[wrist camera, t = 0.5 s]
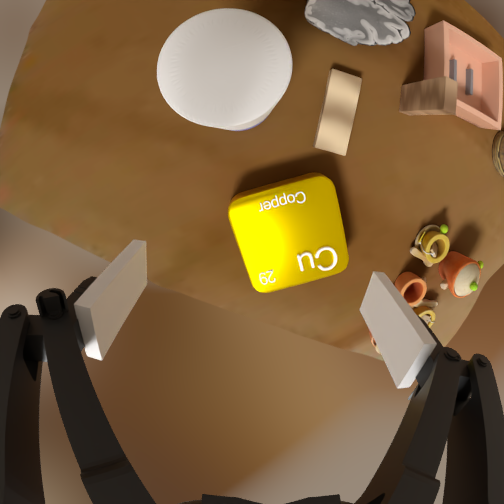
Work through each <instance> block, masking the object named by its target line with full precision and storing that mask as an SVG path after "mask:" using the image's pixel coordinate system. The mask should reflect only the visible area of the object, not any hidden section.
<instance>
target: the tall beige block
mask: <svg viewBox="0 0 504 504" xmlns="http://www.w3.org/2000/svg"><path fill="white" fill-rule="evenodd" d="M457 86H458V82H456V81H454V80H453V79H451V78H449V77H447V76H443V77H438V78H433V79H428V80H423V81H419V82H414V83H410V84H406V85H402V88H401V99H400V108H399V112H402V113H404V114H407V115H456V103H457Z"/></svg>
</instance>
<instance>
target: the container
mask: <svg viewBox="0 0 504 504" xmlns="http://www.w3.org/2000/svg"><path fill="white" fill-rule="evenodd" d="M291 74H292V55H291V51H290V48H289V45H288V43H287V41H286V39H285V37H284V36H283V34H282V33H281V32H280V30H279V29H278V28H277V27H276V26H275V25H274V24H272V23H271V22H270V21H268V20H267V19H265V18H264V17H262V16H260V15H258V14H256V13H253V12H250V11H246V10H242V9H234V8H223V9H215V10H210V11H206V12H203V13H200V14H198V15H196V16H194V17H192V18H190V19H188V20H187V21H185V22H184V23H182V24H181V25H180V26H179V27H178V28H177V29H175V30H174V32H173V33H172V34H171V35H170V36H169V38H168V39H167V40H166V42H165V44H164V46H163V48H162V50H161V52H160V55H159V59H158V64H157V79H158V84H159V87H160V90H161V93H162V95H163V97H164V98H165V100H166V101H167V103H168V104H169V105H170V106H171V107H172V108H173V109H174V110H175V111H176V112H177V113H178V114H180V115H181V116H182V117H184V118H186V119H188V120H190V121H192V122H194V123H197V124H201V125H205V126H210V127H216V128H222V129H227V130H233V131H242V130H247V129H251V128H253V127H255V126H257V125H259V124H260V123H261V122H263V121H264V120H265V119H266V118H267V116H268V115H269V114H270V112H271V111H272V110H273V108H274V107H275V105H276V104H277V103H278V101H279V100H280V99H281V97H282V96H283V94H284V93H285V91H286V89H287V87H288V84H289V82H290V78H291Z"/></svg>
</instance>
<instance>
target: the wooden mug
mask: <svg viewBox="0 0 504 504" xmlns="http://www.w3.org/2000/svg"><path fill="white" fill-rule="evenodd" d="M492 153H493V162H494V165H495V167H496V169H497V171H498V172H499V173H500V175H501V176H503V177H504V131H500V132H499V133H497V135H496V136H495V138H494V141H493V147H492Z"/></svg>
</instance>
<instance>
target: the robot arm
mask: <svg viewBox="0 0 504 504" xmlns="http://www.w3.org/2000/svg"><path fill="white" fill-rule="evenodd" d="M146 285H147V264H146V241H140V240H133V241H132V242H131V243H130V244H129V245H128V246H127V247H126V248H125V249H124V250H123V251H122V252H121V253H120V254H119V255H118V256H117V257H116V258H115V259H114V260H113V261H112V263H111V264H110V265H109V266H108V267H107V268H106V269H105V270H104V271H103V272H102V273H101V274H100V275H99V277H90V278H88V279H86V280H84V281H83V282H82V283H81V284H80V285H79V286H78V288H76V289H75V290H74V292H72V294H71V295H70V296H69V297H68V298H67V299H66V296H65V293H64V291H62V290H61V289H56V288H52V289H47V290H44V291H42V292H40V293H39V294H38V296H37V297H36V303H37V307H38V310H39V314H40V315H28V312H27V309H26V308H25V306H23V305H19V304H16V305H11V306H9V307H7V308H6V309H5V310H4V311H3V313H2V315H1V318H0V504H45V498H44V491H43V484H42V475H41V465H40V448H39V399H40V385H41V373H42V363H43V362H48V367H49V371H50V376H51V380H52V385H53V389H54V393H55V397H56V400H57V404H58V407H59V411H60V414H61V417H62V420H63V424H64V427H65V429H66V432H67V435H68V438H69V441H70V444H71V446H72V449H73V452H74V454H75V457H76V459H77V462H78V464H79V467H80V469H81V474H80V475H81V479H82V482H83V484H84V486H85V488H86V490H87V493H88V495H89V497H90V499H91V501H92V503H93V504H156V503H155V501H154V500H153V499H152V497H151V496H150V494H149V493H148V491H147V490H146V488H145V487H144V485H143V484H142V482H141V480H140V479H139V477H138V475H137V474H136V472H135V470H134V469H133V467H132V465H131V464H130V462H129V461H128V459H127V457H126V455H125V454H124V452H123V450H122V448H121V446H120V444H119V442H118V440H117V438H116V437H115V434H114V433H113V431H112V429H111V426H110V424H109V422H108V420H107V418H106V416H105V413H104V411H103V409H102V407H101V404H100V402H99V400H98V398H97V395H96V392H95V390H94V387H93V385H92V382H91V380H90V377H89V375H88V372H87V369H86V366H85V363H84V360H83V357H82V354H81V351H82V349H83V348H84V347H85V350H86V353H87V356H89V357H92V358H96V359H99V360H102V359H103V358H104V356H105V354H106V352H107V351H108V349H109V347H110V345H111V344H112V342H113V340H114V338H115V337H116V335H117V333H118V331H119V330H120V328H121V326H122V324H123V323H124V321H125V319H126V318H127V316H128V314H129V313H130V311H131V309H132V308H133V306H134V304H135V303H136V301H137V299H138V298H139V296H140V295H141V293H142V291H143V290H144V288H145V287H146ZM360 312H361V314H362V316H363V318H364V320H365V322H366V324H367V326H368V328H369V330H370V332H371V334H372V336H373V338H374V340H375V342H376V344H377V346H378V348H379V350H380V352H381V354H382V356H383V359H384V361H385V362H386V365H387V367H388V369H389V371H390V374H391V376H392V378H393V380H394V382H395V385H396V387H397V388H406V387H410V386H411V384H412V383H413V381H414V380H415V378H416V379H417V382H418V385H417V387H416V388H415V390H414V391H413V392H412V394H411V395H410V396H409V398H408V400H410V399H411V400H410V403H409V405H408V408H407V410H406V413H405V415H404V417H403V419H402V422H401V424H400V426H399V428H398V431H397V433H396V435H395V437H394V439H393V441H392V443H391V445H390V447H389V449H388V451H387V453H386V455H385V457H384V459H383V461H382V462H381V464H380V466H379V468H378V470H377V471H376V473H375V475H374V477H373V478H372V480H371V482H370V483H369V485H368V487H367V488H366V490H365V491H364V493H363V494H362V496H361V497H360V498H359V499H358V500H357V501H356V502H355V503H354V504H433V503H434V501H435V498H436V496H437V493H438V490H439V487H440V481H439V480H437V479H435V476H436V473H437V470H438V467H439V464H440V461H441V458H442V454H443V451H444V448H445V444H446V441H447V465H446V477H445V487H444V496H443V504H504V415H503V410H502V405H501V401H500V396H499V392H498V387H497V384H496V380H495V376H494V372H493V369H492V366H491V363H490V361H489V360H488V359H487V357H485V356H484V355H481V354H474V355H473V357H472V358H471V360H470V361H465V360H461V357H460V355H459V354H458V353H457V352H456V351H455V350H453V349H452V348H449V347H443V346H442V344H441V343H440V341H439V340H438V339H437V337H436V336H435V334H434V333H432V330H431V329H430V328H429V326H428V325H427V323H426V322H425V321H424V320H423V319H422V318H421V317H419V316H418V315H416V314H415V312H414V311H413V310H412V308H411V307H410V305H409V304H408V303H407V301H406V300H405V299H404V298H403V296H402V295H401V294H400V292H399V291H398V290H397V288H396V287H395V286H394V285H393V283H392V282H391V281H390V280H389V278H388V277H387V276H386V274H385V273H382V272H374V271H373V274H372V277H371V280H370V283H369V286H368V288H367V291H366V294H365V297H364V299H363V302H362V305H361V307H360ZM470 397H471V398H470ZM179 504H261V503H257V502H252V501H249V500H244V499H241V498H236V497H225V496H214V495H206V494H202V500H193V501H188V502H183V503H179ZM286 504H353V503H349V502H344V501H340V495H339V494H338V495H329V496H321V497H308V498H305V499H302V500H298V501H294V502H290V503H286Z"/></svg>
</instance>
